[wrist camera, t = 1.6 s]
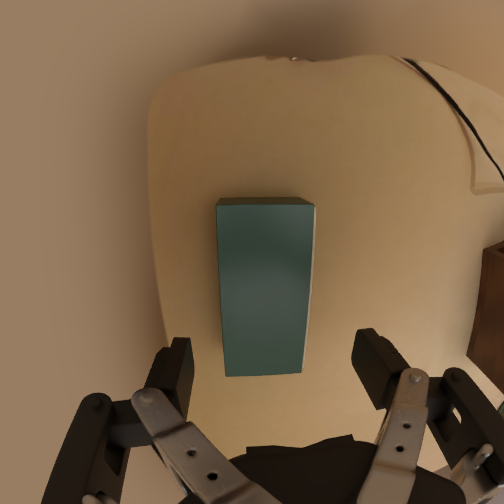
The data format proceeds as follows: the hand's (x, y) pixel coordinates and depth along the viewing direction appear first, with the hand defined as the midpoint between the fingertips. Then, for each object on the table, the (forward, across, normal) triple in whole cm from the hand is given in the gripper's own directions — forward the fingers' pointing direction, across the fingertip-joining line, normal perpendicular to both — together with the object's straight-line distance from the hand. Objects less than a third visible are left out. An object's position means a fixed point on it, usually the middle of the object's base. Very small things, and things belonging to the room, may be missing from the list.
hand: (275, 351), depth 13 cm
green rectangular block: (+8, 0, 0) cm, 8 cm away
